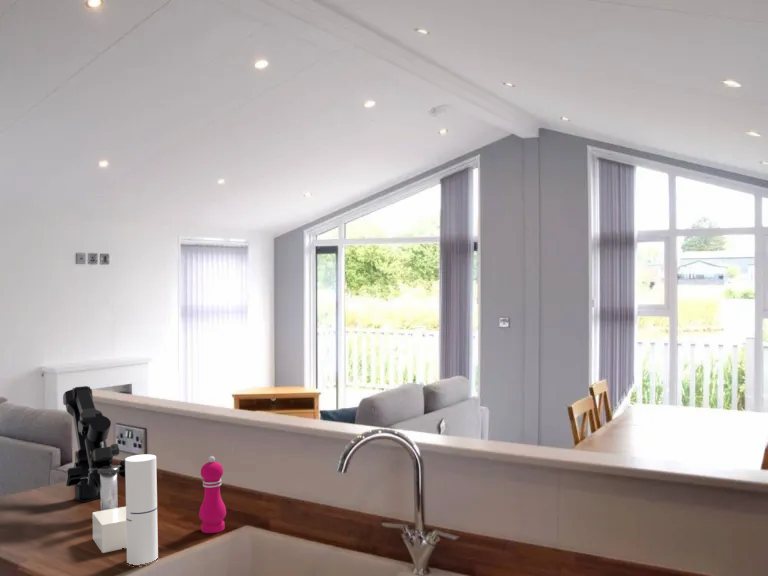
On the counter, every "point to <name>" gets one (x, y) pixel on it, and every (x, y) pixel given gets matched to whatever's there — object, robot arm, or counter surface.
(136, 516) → the cylindrical container
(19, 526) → the counter surface
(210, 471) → the pepper mill
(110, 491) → the silver jar
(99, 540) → the block
